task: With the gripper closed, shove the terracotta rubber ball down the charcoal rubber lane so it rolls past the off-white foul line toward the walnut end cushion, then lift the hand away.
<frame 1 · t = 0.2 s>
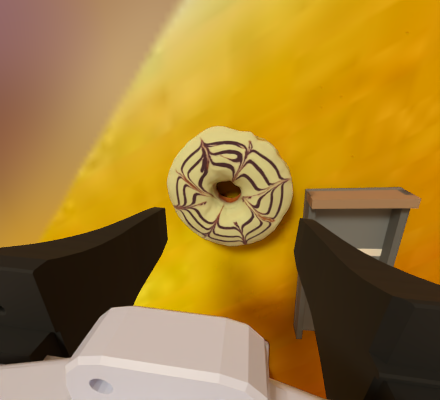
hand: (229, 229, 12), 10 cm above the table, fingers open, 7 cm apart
decorated donut: (230, 182, 22), on the table
lane: (337, 267, 24), on the table
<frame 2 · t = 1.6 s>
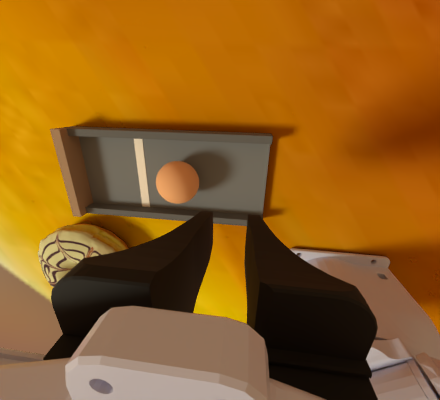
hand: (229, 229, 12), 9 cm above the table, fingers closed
decorated donut: (100, 255, 27), on the table
ball: (177, 182, 19), point 2 cm above the table, touching lane
lane: (170, 173, 21), on the table
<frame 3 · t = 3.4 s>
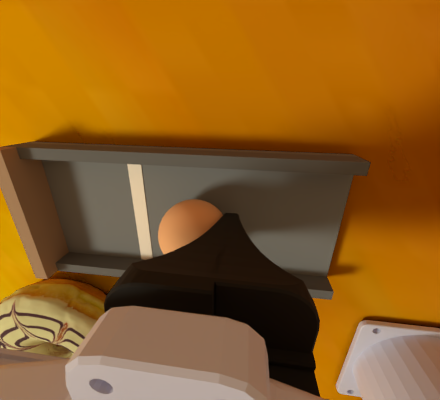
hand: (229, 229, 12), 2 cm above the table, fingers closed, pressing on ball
decorated donut: (83, 314, 20), on the table
ball: (193, 233, 12), point 2 cm above the table, tilted 10°, touching gripper, lane
lane: (183, 212, 14), on the table
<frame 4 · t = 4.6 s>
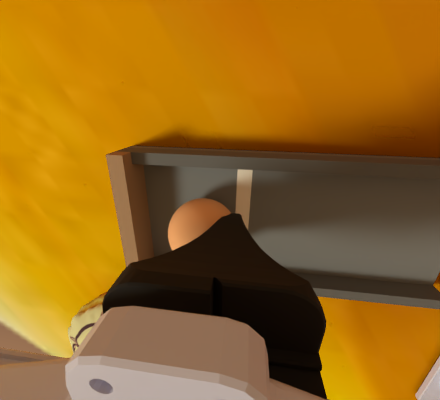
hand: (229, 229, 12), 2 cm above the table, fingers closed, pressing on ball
decorated donut: (151, 321, 19), on the table
ball: (202, 232, 12), point 2 cm above the table, tilted 166°, touching gripper, lane
lane: (283, 218, 13), on the table
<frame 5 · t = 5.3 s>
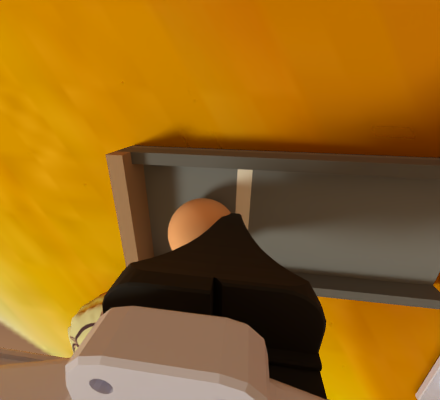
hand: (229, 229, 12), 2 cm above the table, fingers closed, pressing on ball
decorated donut: (151, 321, 19), on the table
ball: (202, 232, 12), point 2 cm above the table, tilted 166°, touching gripper, lane
lane: (283, 218, 13), on the table
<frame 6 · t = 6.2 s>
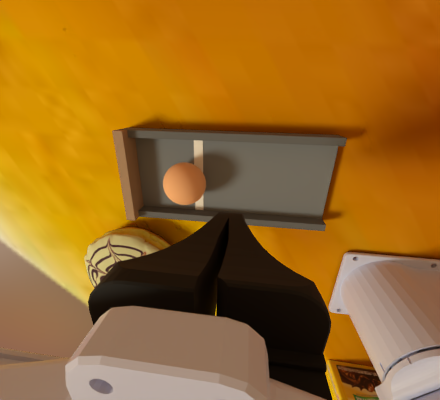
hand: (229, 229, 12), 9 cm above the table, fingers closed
decorated donut: (142, 259, 26), on the table
candy box: (390, 370, 29), on the table
ball: (184, 183, 19), point 2 cm above the table, tilted 156°, touching lane
lane: (226, 175, 21), on the table
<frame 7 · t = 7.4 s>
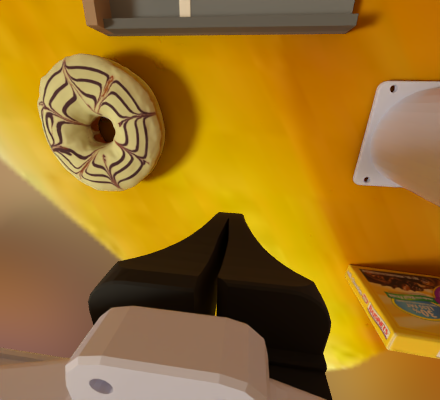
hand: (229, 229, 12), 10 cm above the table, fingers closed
decorated donut: (117, 127, 21), on the table
candy box: (426, 278, 23), on the table
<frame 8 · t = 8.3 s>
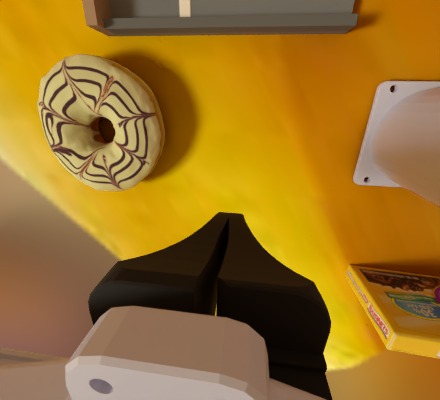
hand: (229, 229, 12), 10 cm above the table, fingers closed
decorated donut: (117, 127, 21), on the table
candy box: (426, 278, 23), on the table
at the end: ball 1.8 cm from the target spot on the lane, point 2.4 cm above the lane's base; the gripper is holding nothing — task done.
